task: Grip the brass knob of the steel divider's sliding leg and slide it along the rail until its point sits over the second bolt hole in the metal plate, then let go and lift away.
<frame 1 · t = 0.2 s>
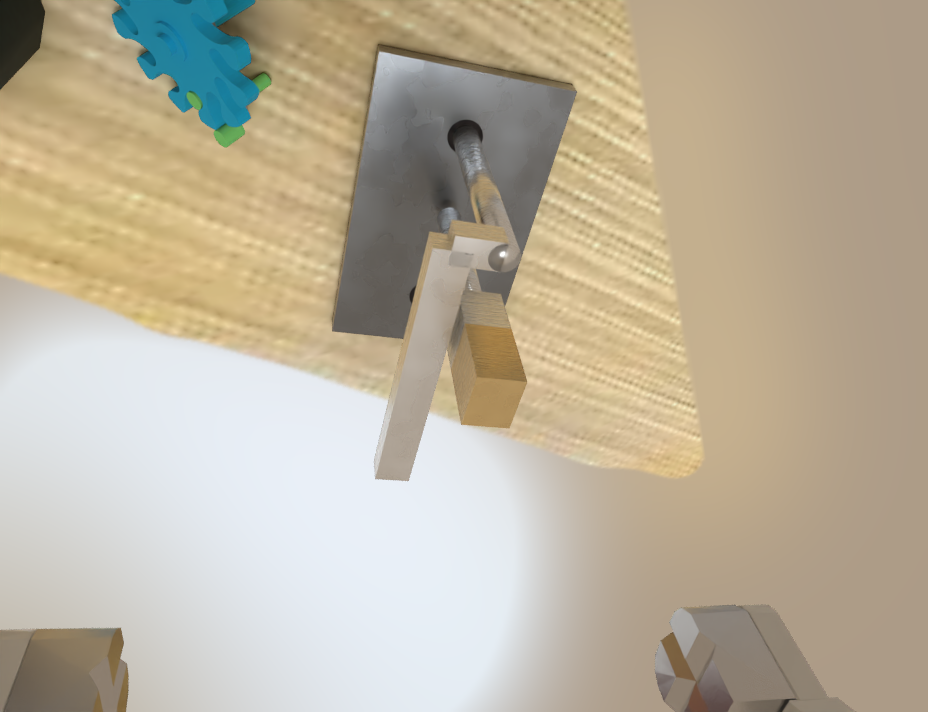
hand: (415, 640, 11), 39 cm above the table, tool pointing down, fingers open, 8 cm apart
divider frame: (428, 300, 45), on the bolt plate, point 8 cm above the table
gear: (195, 23, 41), on the table
bolt plate: (441, 213, 51), on the table
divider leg: (467, 292, 42), point 11 cm above the table, slide at 5.0 cm
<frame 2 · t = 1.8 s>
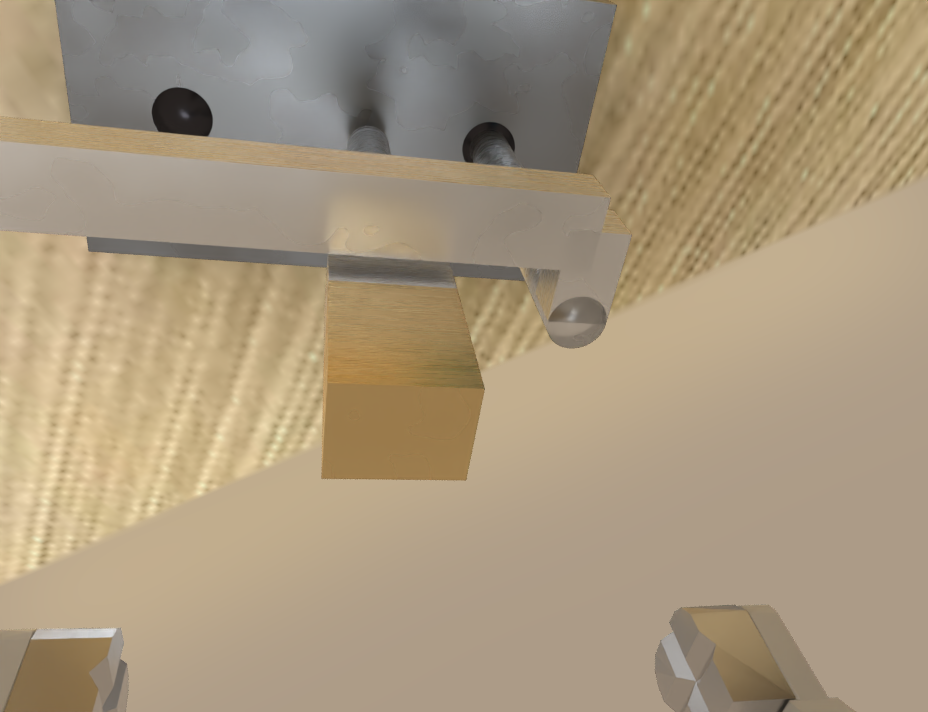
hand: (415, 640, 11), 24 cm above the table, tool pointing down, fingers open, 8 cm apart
divider frame: (294, 155, 23), on the bolt plate, point 8 cm above the table
bolt plate: (341, 124, 31), on the table
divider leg: (378, 239, 22), point 11 cm above the table, slide at 5.0 cm
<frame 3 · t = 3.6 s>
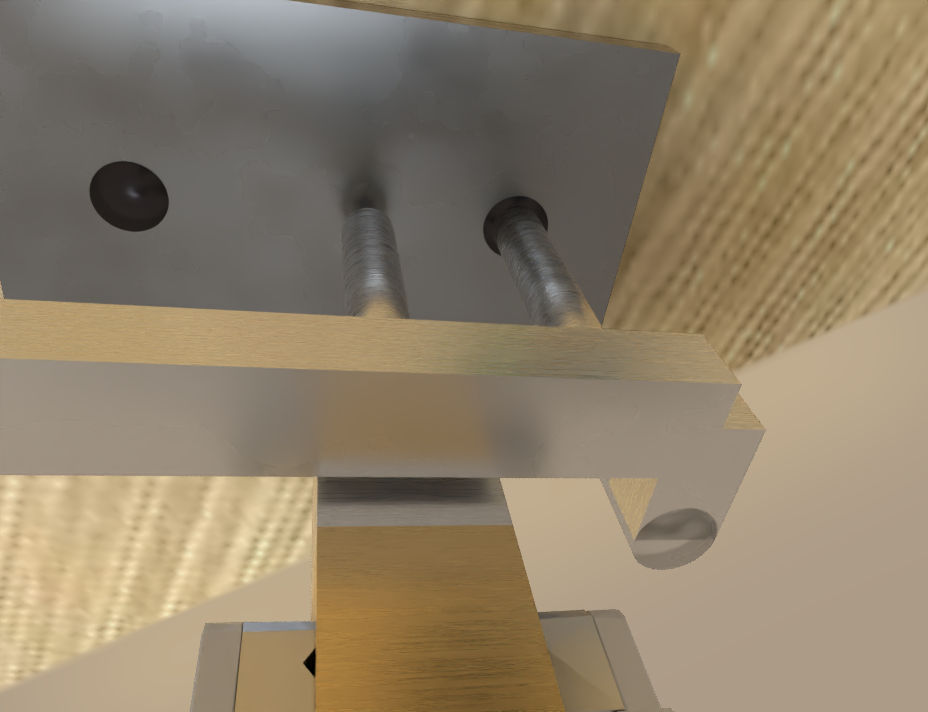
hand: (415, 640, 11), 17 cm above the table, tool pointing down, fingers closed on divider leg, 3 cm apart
divider frame: (268, 272, 17), on the bolt plate, point 8 cm above the table
bolt plate: (332, 198, 25), on the table
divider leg: (387, 394, 16), point 11 cm above the table, slide at 5.0 cm, touching gripper
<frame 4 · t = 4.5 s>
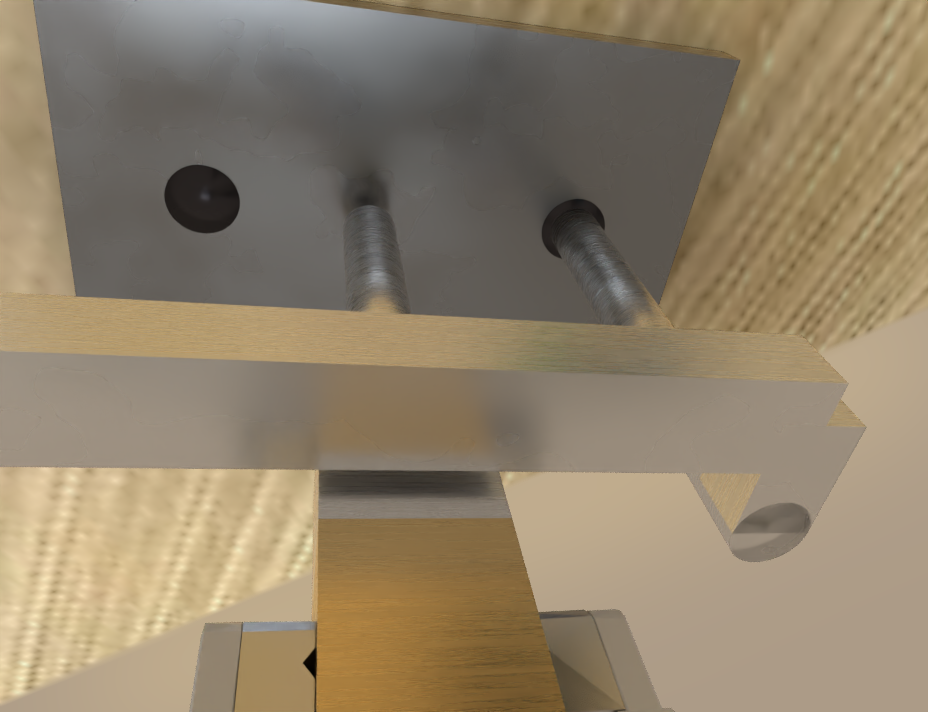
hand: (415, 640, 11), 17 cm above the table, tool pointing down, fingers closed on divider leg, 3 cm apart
divider frame: (358, 274, 18), on the bolt plate, point 8 cm above the table
bolt plate: (394, 201, 25), on the table
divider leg: (387, 389, 16), point 11 cm above the table, slide at 7.0 cm, touching gripper
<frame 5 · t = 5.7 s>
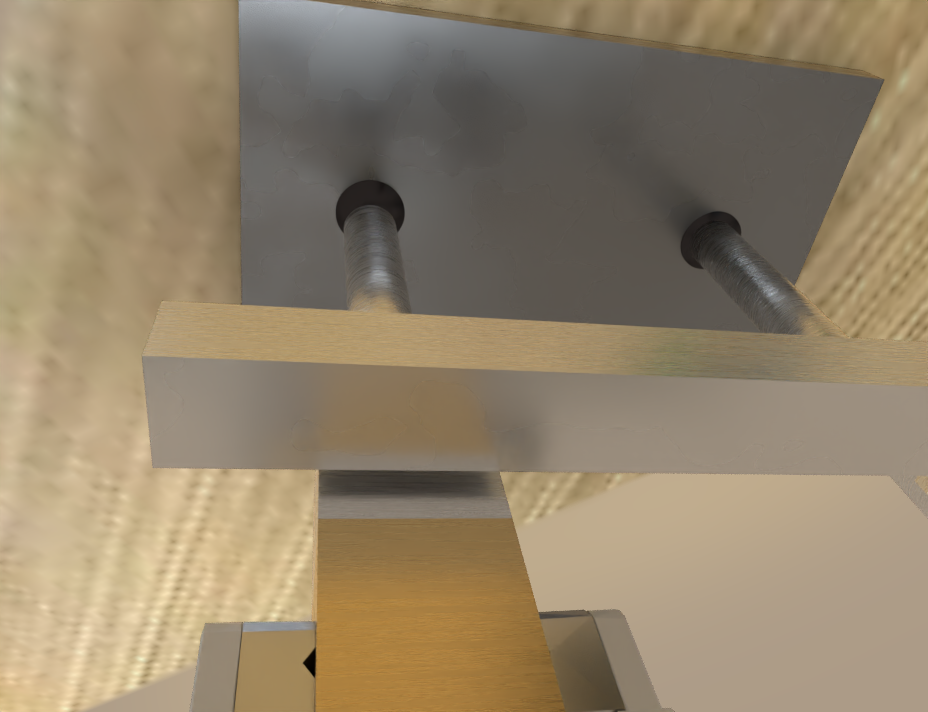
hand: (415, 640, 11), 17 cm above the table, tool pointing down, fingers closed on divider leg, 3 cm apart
divider frame: (566, 287, 19), on the bolt plate, point 8 cm above the table
bolt plate: (540, 213, 26), on the table
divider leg: (388, 389, 16), point 11 cm above the table, slide at 12.1 cm, touching gripper
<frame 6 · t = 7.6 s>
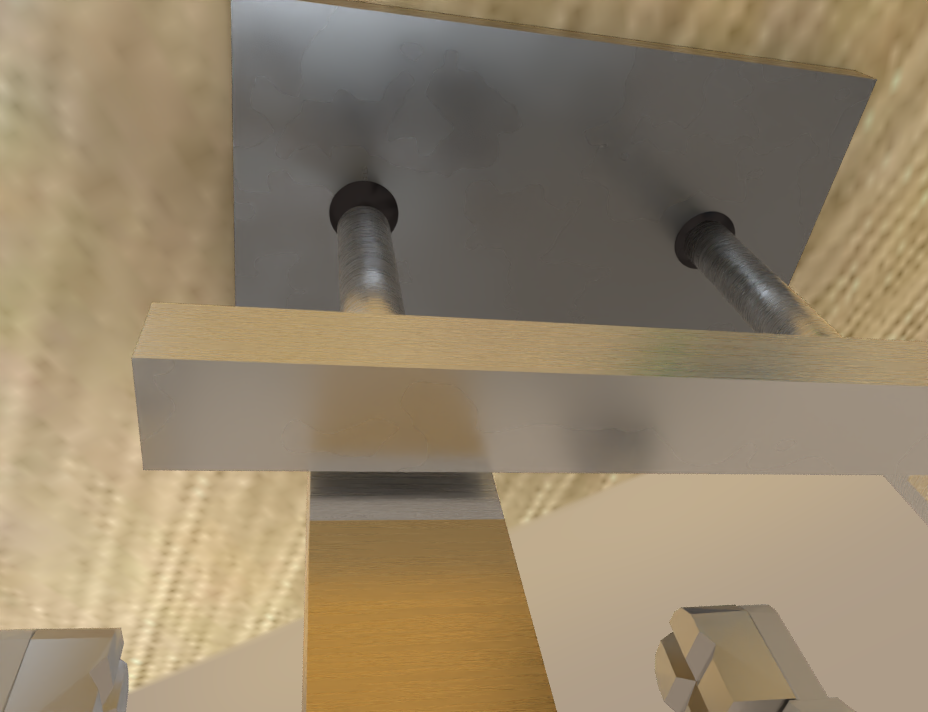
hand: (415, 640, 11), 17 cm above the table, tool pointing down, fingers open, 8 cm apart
divider frame: (559, 288, 19), on the bolt plate, point 8 cm above the table
bolt plate: (534, 213, 26), on the table
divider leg: (381, 390, 16), point 11 cm above the table, slide at 12.1 cm
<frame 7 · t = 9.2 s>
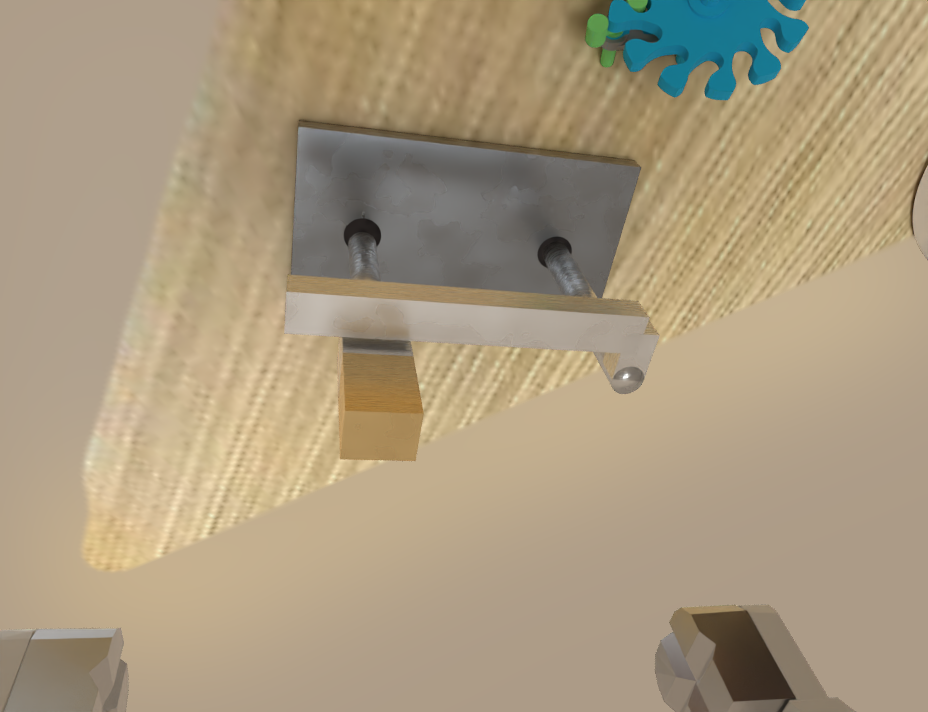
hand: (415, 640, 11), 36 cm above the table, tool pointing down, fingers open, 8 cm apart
divider frame: (455, 275, 39), on the bolt plate, point 8 cm above the table
bolt plate: (458, 236, 47), on the table
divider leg: (369, 318, 37), point 11 cm above the table, slide at 12.1 cm
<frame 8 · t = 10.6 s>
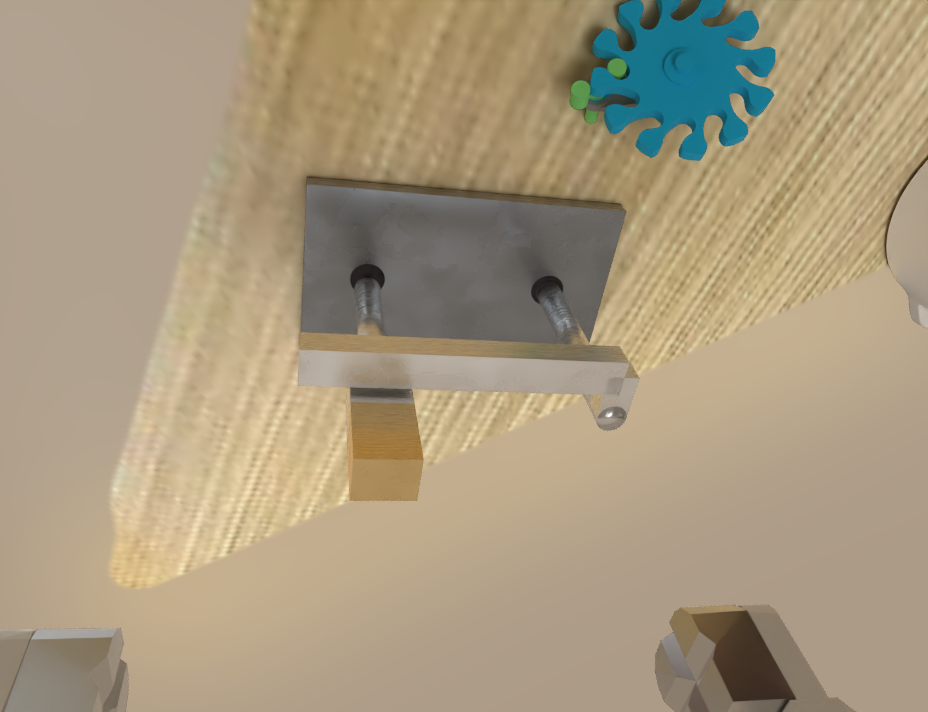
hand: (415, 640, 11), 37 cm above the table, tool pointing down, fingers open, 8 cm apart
divider frame: (453, 320, 42), on the bolt plate, point 8 cm above the table
gear: (645, 58, 44), on the table
bolt plate: (456, 276, 50), on the table
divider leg: (374, 364, 40), point 11 cm above the table, slide at 12.1 cm
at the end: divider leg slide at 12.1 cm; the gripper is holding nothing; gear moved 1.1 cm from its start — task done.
